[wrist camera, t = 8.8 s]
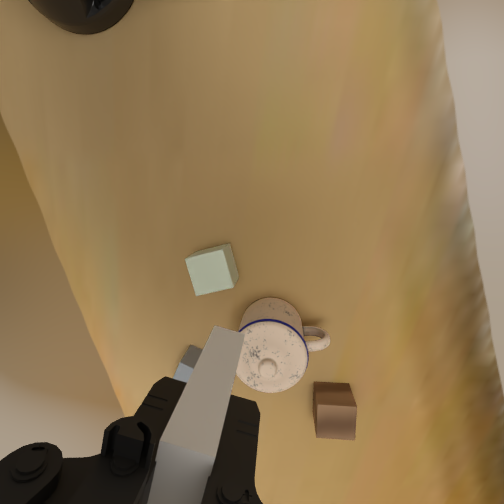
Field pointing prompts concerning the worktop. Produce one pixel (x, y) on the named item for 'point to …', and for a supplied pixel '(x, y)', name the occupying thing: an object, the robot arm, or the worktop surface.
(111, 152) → the worktop surface
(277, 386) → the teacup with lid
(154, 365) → the worktop surface
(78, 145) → the worktop surface
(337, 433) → the walnut block
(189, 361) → the slate block
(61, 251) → the worktop surface
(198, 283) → the sage block
